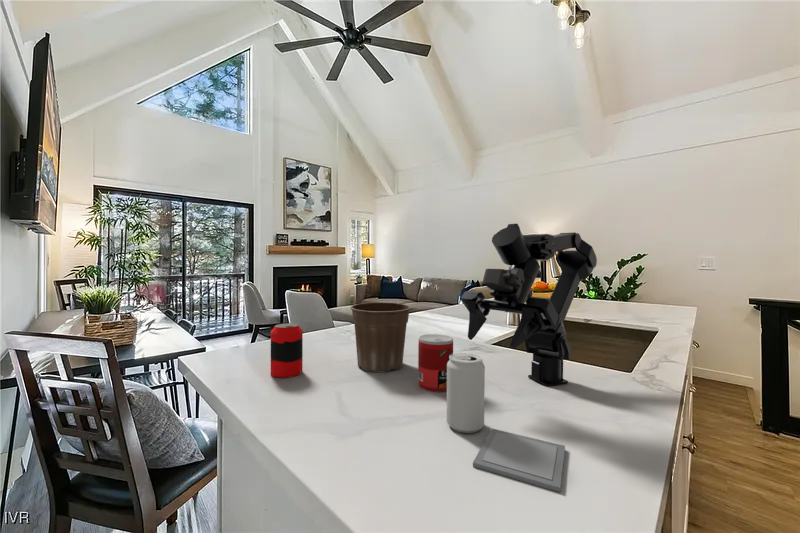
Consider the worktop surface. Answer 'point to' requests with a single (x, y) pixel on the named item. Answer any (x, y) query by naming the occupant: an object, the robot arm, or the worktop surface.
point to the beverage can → (465, 392)
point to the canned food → (434, 361)
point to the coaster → (522, 459)
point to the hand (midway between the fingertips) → (489, 342)
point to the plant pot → (380, 335)
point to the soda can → (286, 350)
